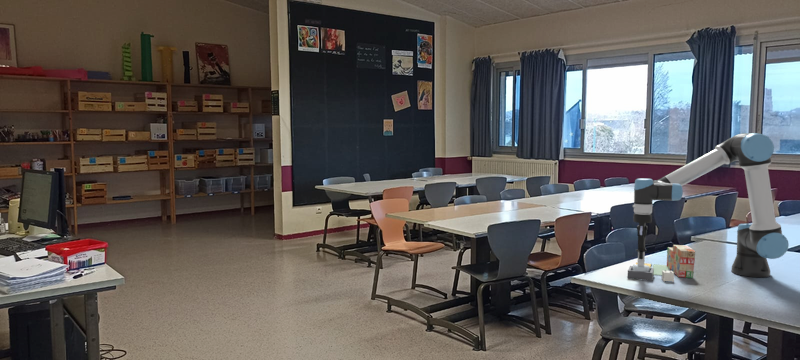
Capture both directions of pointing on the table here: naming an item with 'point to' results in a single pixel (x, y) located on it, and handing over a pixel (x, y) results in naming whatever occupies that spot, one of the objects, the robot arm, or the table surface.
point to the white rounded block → (641, 268)
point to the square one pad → (659, 269)
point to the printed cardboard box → (681, 260)
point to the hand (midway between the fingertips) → (640, 265)
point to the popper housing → (641, 274)
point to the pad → (646, 264)
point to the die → (667, 275)
